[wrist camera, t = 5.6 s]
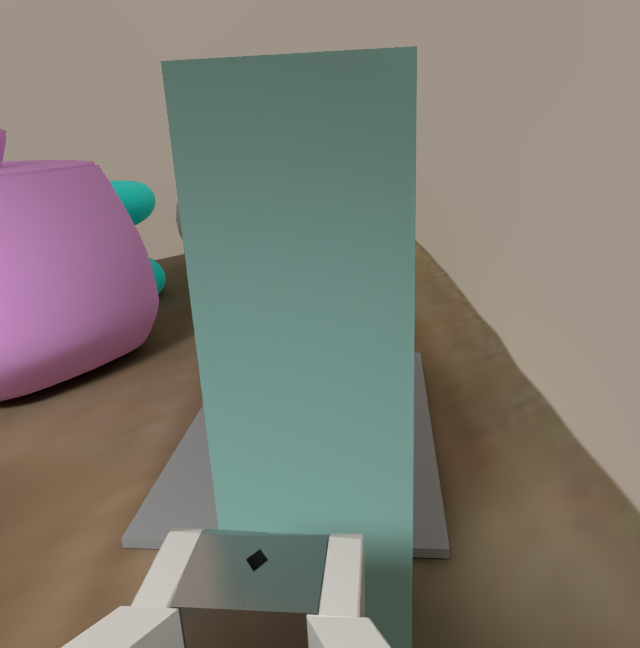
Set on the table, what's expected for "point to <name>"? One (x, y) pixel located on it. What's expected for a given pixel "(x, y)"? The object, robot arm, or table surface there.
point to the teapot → (67, 274)
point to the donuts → (139, 213)
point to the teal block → (306, 295)
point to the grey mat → (199, 501)
